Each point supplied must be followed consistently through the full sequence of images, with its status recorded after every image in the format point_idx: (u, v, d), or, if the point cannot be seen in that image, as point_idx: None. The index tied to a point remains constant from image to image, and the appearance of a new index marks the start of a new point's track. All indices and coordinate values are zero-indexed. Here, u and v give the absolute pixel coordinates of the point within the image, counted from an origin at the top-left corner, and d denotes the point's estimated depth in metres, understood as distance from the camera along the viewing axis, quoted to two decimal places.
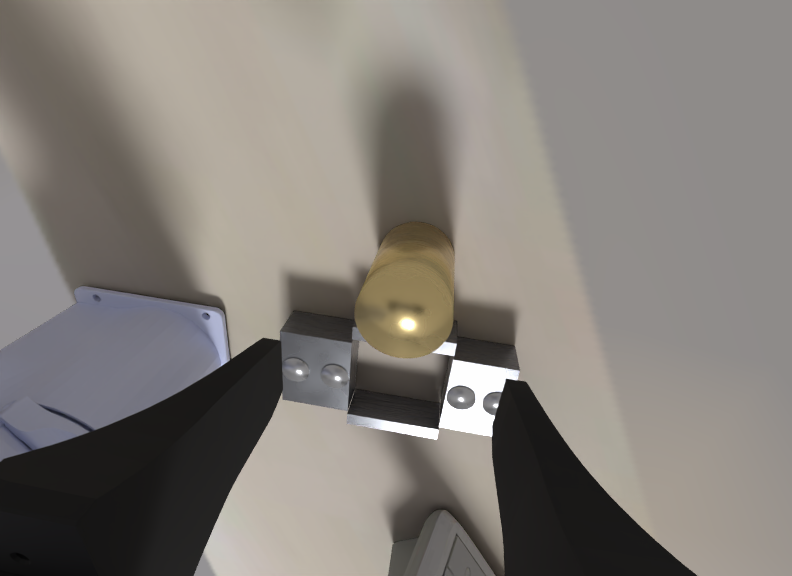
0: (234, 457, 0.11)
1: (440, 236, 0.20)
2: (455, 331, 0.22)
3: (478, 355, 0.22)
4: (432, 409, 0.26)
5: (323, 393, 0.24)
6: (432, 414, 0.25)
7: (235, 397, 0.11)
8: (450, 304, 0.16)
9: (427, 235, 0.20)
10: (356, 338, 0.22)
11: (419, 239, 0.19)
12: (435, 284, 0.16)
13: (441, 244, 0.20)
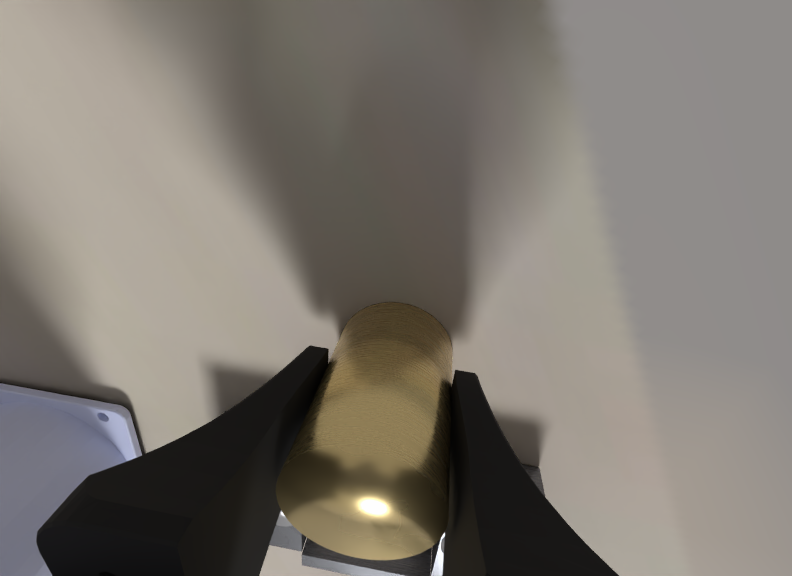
0: None
1: (430, 327, 0.13)
2: None
3: None
4: None
5: None
6: None
7: (293, 407, 0.10)
8: (443, 493, 0.09)
9: (409, 331, 0.12)
10: None
11: (396, 346, 0.12)
12: (415, 465, 0.09)
13: (430, 348, 0.12)
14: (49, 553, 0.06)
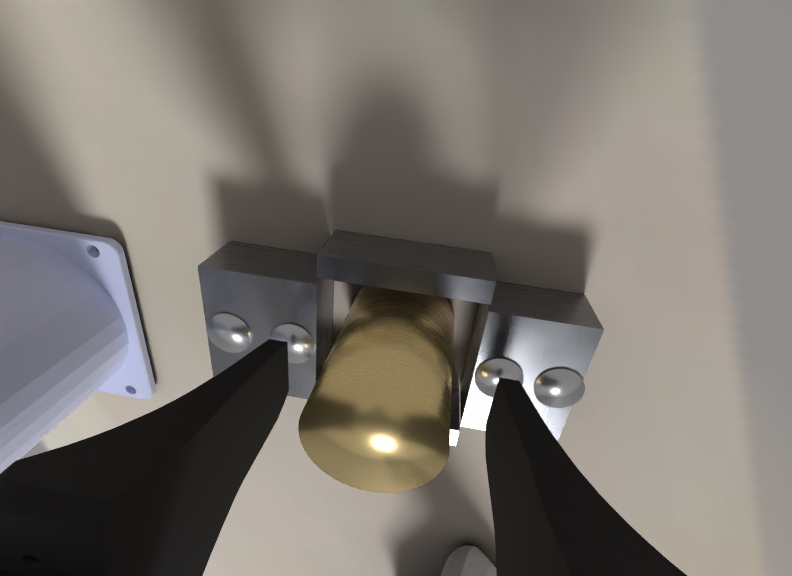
0: (241, 458, 0.11)
1: None
2: (491, 265, 0.13)
3: (530, 306, 0.13)
4: None
5: None
6: None
7: (243, 398, 0.11)
8: (444, 426, 0.10)
9: (414, 297, 0.14)
10: (324, 275, 0.13)
11: (402, 308, 0.13)
12: (420, 399, 0.10)
13: (433, 311, 0.14)
14: None
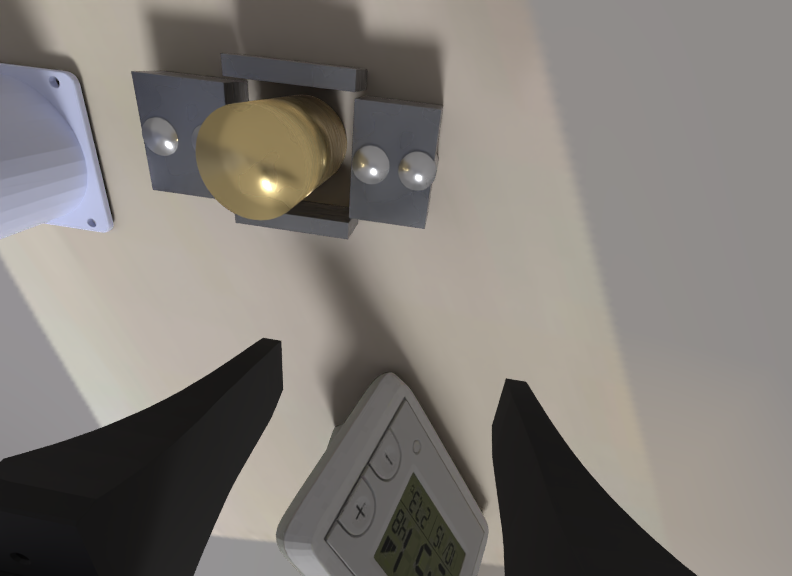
0: (234, 457, 0.11)
1: (323, 105, 0.18)
2: (360, 69, 0.17)
3: (391, 101, 0.17)
4: (347, 211, 0.20)
5: None
6: (345, 214, 0.20)
7: (235, 397, 0.11)
8: (299, 143, 0.14)
9: (303, 98, 0.17)
10: (228, 73, 0.17)
11: (288, 97, 0.17)
12: (277, 116, 0.14)
13: (317, 108, 0.17)
14: None
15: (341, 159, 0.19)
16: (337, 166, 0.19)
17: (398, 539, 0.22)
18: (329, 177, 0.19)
